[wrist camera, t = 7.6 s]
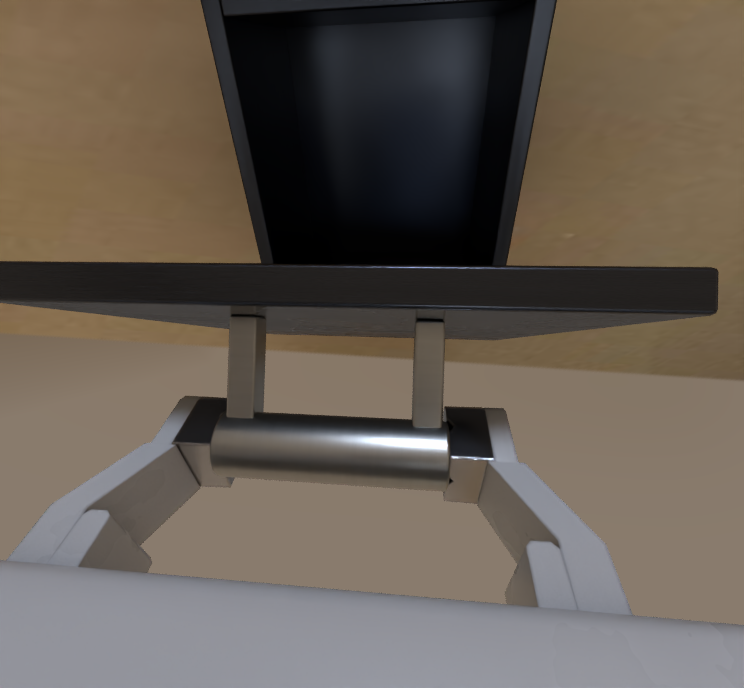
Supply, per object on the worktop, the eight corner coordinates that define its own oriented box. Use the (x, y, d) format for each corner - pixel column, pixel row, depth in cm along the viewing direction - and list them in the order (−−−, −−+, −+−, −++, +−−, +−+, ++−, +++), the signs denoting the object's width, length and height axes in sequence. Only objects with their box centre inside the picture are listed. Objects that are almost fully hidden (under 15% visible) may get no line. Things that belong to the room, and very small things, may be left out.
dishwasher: (273, 12, 22) (197, -10, 15) (510, -3, 21) (564, -34, 13) (309, 257, 32) (275, 323, 24) (475, 258, 31) (494, 329, 23)
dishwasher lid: (-24, 260, 8) (-35, 503, 7) (722, 265, 6) (716, 563, 6) (272, 321, 24) (270, 398, 24) (495, 326, 22) (493, 408, 22)
